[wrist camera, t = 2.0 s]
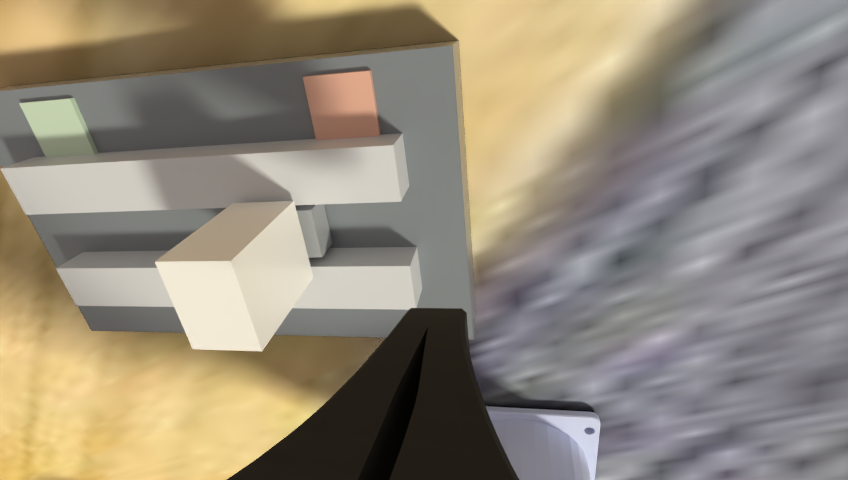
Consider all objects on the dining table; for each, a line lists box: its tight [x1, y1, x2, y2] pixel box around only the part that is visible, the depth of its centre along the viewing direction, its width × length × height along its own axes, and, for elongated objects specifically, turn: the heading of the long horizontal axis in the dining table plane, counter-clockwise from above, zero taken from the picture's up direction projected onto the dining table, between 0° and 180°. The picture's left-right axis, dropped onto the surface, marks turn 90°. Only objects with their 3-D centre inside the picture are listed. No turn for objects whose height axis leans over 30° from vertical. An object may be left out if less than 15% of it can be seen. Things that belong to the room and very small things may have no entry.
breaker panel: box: [0, 40, 476, 340], centre depth 19 cm, size 20×12×4 cm, turn 96°
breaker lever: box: [155, 201, 332, 351], centre depth 16 cm, size 3×3×6 cm
